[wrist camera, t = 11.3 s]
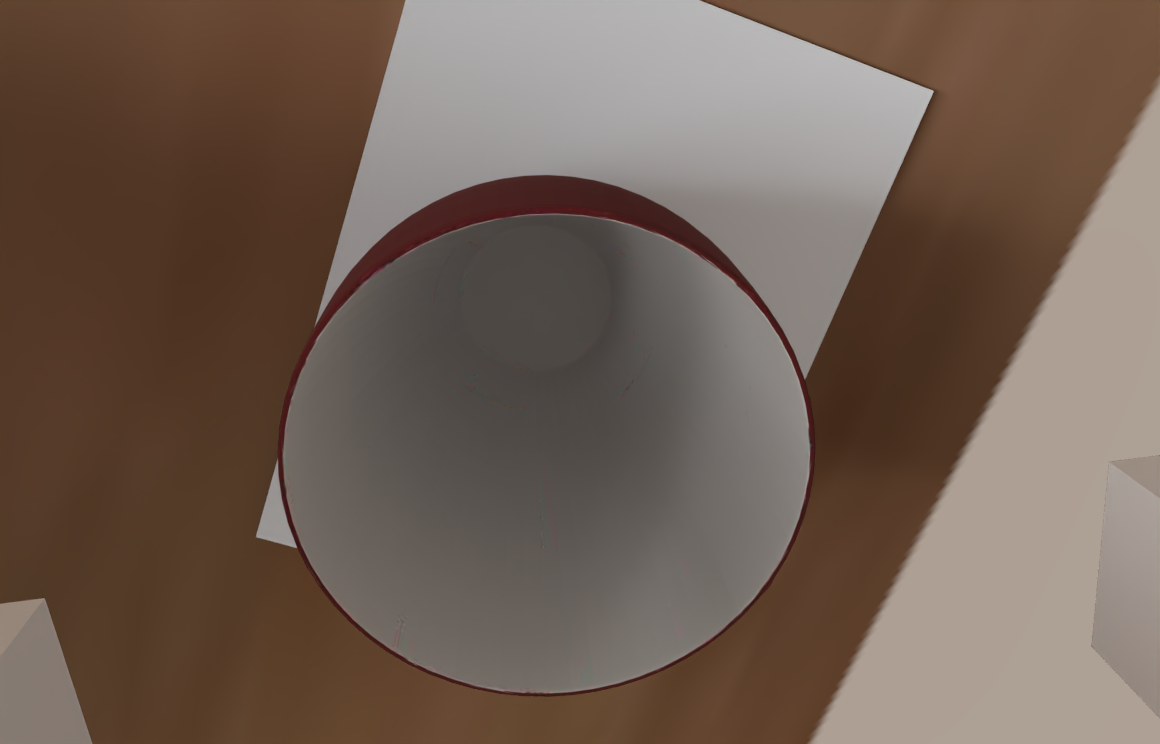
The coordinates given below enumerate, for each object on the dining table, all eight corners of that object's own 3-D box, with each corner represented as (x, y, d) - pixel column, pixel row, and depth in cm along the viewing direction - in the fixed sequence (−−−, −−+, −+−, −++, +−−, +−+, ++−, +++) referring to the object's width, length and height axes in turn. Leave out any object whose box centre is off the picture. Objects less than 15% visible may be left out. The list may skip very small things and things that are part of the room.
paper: (681, 645, 28) (683, 651, 28) (258, 531, 26) (255, 537, 26) (928, 90, 23) (934, 90, 23) (435, -101, 21) (434, -103, 21)
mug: (841, 329, 25) (1037, 519, 16) (633, 555, 27) (698, 848, 17) (506, 50, 22) (502, 77, 13) (301, 323, 24) (165, 521, 15)
